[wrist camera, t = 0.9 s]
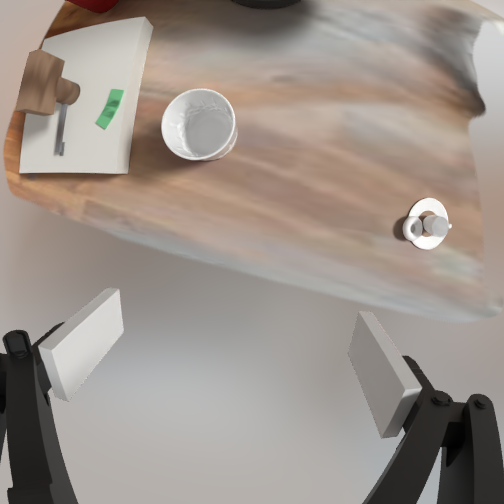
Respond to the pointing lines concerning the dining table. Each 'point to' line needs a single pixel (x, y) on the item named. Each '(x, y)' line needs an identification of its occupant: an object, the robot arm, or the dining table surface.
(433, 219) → the teacup and saucer
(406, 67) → the dining table surface
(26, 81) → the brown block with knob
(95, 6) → the plastic cup
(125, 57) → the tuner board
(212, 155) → the white cup
